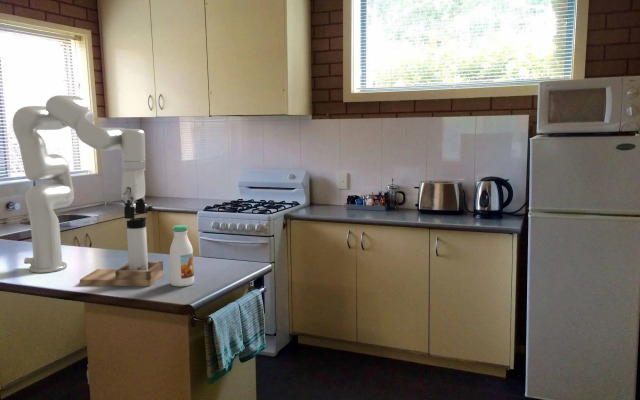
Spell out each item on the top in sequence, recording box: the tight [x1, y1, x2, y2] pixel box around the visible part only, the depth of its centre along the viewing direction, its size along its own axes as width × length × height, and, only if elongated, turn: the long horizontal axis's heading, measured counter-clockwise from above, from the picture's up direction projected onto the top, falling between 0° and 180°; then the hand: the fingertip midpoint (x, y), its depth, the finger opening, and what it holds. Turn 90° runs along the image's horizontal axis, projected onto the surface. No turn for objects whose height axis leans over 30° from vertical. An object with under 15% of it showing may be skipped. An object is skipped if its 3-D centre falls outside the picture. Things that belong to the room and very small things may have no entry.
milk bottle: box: [169, 224, 195, 287], centre depth 184 cm, size 8×8×20 cm
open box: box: [79, 260, 164, 287], centre depth 189 cm, size 24×13×5 cm, turn 87°
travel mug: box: [126, 216, 149, 271], centre depth 188 cm, size 6×7×20 cm
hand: (135, 215), depth 186 cm, fingers open, 9 cm apart
